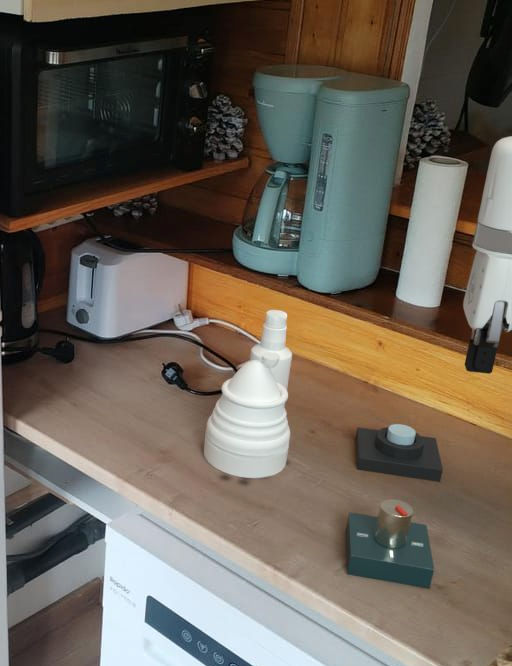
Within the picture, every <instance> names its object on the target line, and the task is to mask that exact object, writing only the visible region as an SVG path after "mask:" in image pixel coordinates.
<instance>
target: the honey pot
mask: <svg viewBox="0 0 512 666" xmlns="http://www.w3.org/2000/svg"><path fill="white" fill-rule="evenodd" d="M279 359H280V356H279V355H278V354H276V353H272V352H266V353H263V354H262V361H263V362H262V361H260V360H252V361H250V360H249V361H247V362H246V363H244V364H243V365H242V366H241V367H240V368H239V369H238V370H237V371H236V372H235V373H234V374H233V376H232V377H231V378H229V379H226V380H225V381H224V382H223V383H222V385H221V388H220V389H221V393H222V394H221V395H220V398H219V399H217V401H216V403H215V405H214V408H213V410H212V413H211V415H210V416H209V417H208V419H207V422H206V429H205V436H204V444H203V445H204V446H203V456H204V458H205V460H206V461H207V463H208V464H210V465H211V466H212V467H213V468H215V469H217V471H218V470H219V471H220V472H222V473H225V474H227V475H230V476H234V477H238V478H239V477H240V478H245V479H262V478H269V477H271V476H275V475H277V474H279V473H281V472H282V471H283V470H284V468H286V465H287V462H288V461H287V460H288V454H289V447H290V440H291V436H292V435H291V429H290V426H289V420H288V417H287V414H288V413H287V409H286V407H284V406H283V404H284V403H285V404H286V402H287V401H288V398H289V392H288V389H287V390H286V389H285V387H284V386H283V385H281V384H280V383H278V382H276V380H275V378H274V375H273V374H272V372H271V370H270V369H269V368H273V367H275V366H276V365H277V363H278V362H279ZM280 393H281V394H280Z"/></svg>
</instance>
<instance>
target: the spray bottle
mask: <svg viewBox="0 0 512 666" xmlns="http://www.w3.org/2000/svg"><path fill="white" fill-rule="evenodd" d="M287 320H288V313H287V312H286V311H283V310H280V309H269V310H267V311H266V313H265V319H264V323H263V325H262V331H261V332H262V333H261V336H260V343H257V344H255V345H254V346H253V347H251V350H250V357H249V361H252V360H260V361H262V354H263V353H266V352H272V353H276V354H278V355H279V356H280V359H279V362H278V363H277V365H276V366H275V367H273V368H269V369H270V370H271V372H272V374H273V375H274V378H275V380H276V382H278V383H280V384H281V385H283V386H284V387H285V389H286V390H287V391H288V387H289V379H290V372H291V366H292V359H293V352H292V350H291V349H289V347H287V346H286V343H287V338H286V337H287V331H288V326H287V322H288V321H287ZM262 362H263V361H262ZM280 394H281V393H280ZM283 406H284V408H286V402H285V403H284V404H283Z"/></svg>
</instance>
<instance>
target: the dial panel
mask: <svg viewBox="0 0 512 666" xmlns="http://www.w3.org/2000/svg"><path fill="white" fill-rule="evenodd" d="M377 518H378V516H373V515H368V514H361V513H356V512H348V516H347V520H346V526H345V551H346V552H345V553H346V554H345V555H346V574H347V575H351V576H356V577H362V578H369V579H374V580H380V581H385V582H391V583H396V584H402V585H408V586H413V587H417V588H418V587H419V588H424V589H430V588H431V584H432V580H433V576H434V573H435V567H434V560H433V554H432V549H431V543H430V537H429V532H428V531H429V530H428V525H427V524H423V523H418V522H412V521H411V523H410V528H409V532H408V536H407V541H406V544H405V545H404V546H403V547H401V548H389V547H385V546H383V545H381V544H379V543H378V542H377V541H376V540H375V538H374V532H375V527H376V523H377Z"/></svg>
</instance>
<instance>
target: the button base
mask: <svg viewBox="0 0 512 666" xmlns="http://www.w3.org/2000/svg"><path fill="white" fill-rule="evenodd" d="M388 428H389V426H386V427H382V428H380V429H373V428H365V427H357V428H356V432H355V437H354V442H355V444H354V445H355V457H356V470H358V471H364V472H370V473H377V474H384V475H391V476H398V477H402V478H403V477H404V478H410V479H416V480H425V481H431V482H438V483H440V482H441V479H442V475H443V471H444V470H443V465H442V460H441V456H440V451H439V445H438V443H437V438H436V437H430V436H423V435H420V434H419V433H417V432H416V434H415V439H414V443H413V444H412V445H399V444H395V443H393V442H390V441H389V440H388V439H387V432H388Z"/></svg>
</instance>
